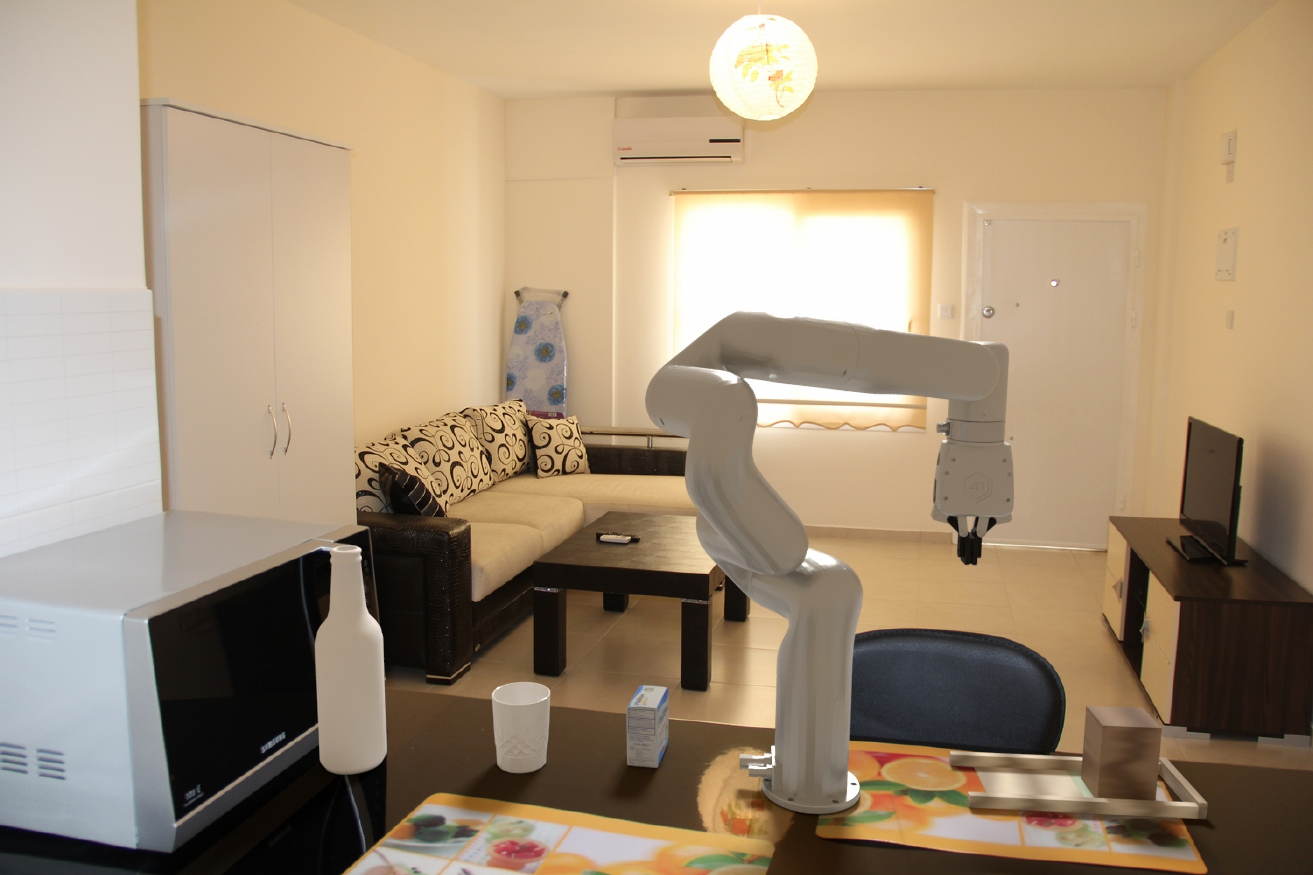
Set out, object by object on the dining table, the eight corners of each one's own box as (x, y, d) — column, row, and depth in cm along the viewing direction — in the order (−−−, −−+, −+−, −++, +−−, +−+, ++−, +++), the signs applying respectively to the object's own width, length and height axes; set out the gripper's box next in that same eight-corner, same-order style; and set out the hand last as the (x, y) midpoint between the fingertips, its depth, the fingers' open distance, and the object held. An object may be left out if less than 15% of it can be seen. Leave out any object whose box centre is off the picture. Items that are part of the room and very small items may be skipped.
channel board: (968, 818, 122) (969, 791, 122) (948, 771, 134) (949, 747, 133) (1205, 830, 120) (1207, 803, 119) (1163, 782, 132) (1165, 757, 131)
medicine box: (657, 769, 134) (658, 708, 133) (625, 766, 135) (626, 705, 134) (668, 743, 142) (669, 686, 141) (638, 740, 143) (638, 683, 141)
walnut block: (1097, 801, 123) (1102, 725, 122) (1080, 778, 129) (1086, 705, 128) (1155, 804, 123) (1161, 727, 121) (1136, 780, 129) (1142, 707, 127)
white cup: (562, 758, 137) (561, 689, 136) (525, 781, 131) (524, 709, 129) (518, 744, 141) (517, 677, 140) (480, 766, 135) (479, 696, 133)
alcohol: (307, 771, 133) (296, 554, 128) (342, 743, 141) (334, 538, 137) (366, 779, 131) (358, 559, 126) (398, 750, 139) (392, 542, 135)
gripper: (924, 435, 132) (918, 568, 135) (1040, 437, 131) (1031, 571, 133) (915, 427, 139) (909, 554, 142) (1024, 429, 138) (1016, 557, 141)
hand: (968, 562), depth 138 cm, fingers closed
